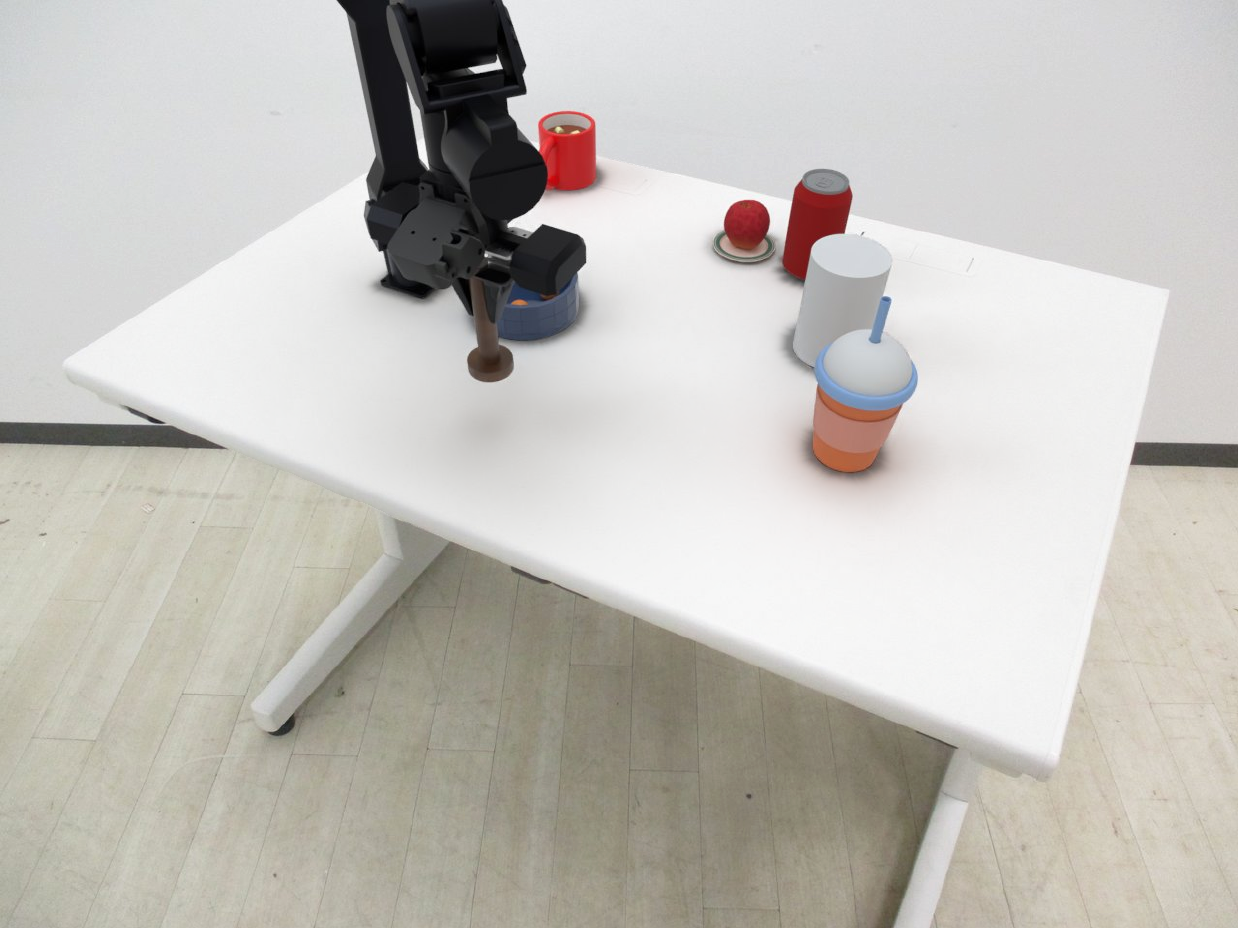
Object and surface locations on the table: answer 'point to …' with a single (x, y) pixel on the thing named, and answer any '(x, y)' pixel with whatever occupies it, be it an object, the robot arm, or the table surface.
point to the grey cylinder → (840, 291)
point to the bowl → (539, 313)
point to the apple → (745, 233)
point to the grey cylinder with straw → (860, 394)
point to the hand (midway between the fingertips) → (484, 317)
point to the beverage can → (815, 216)
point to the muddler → (486, 339)
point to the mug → (568, 149)
